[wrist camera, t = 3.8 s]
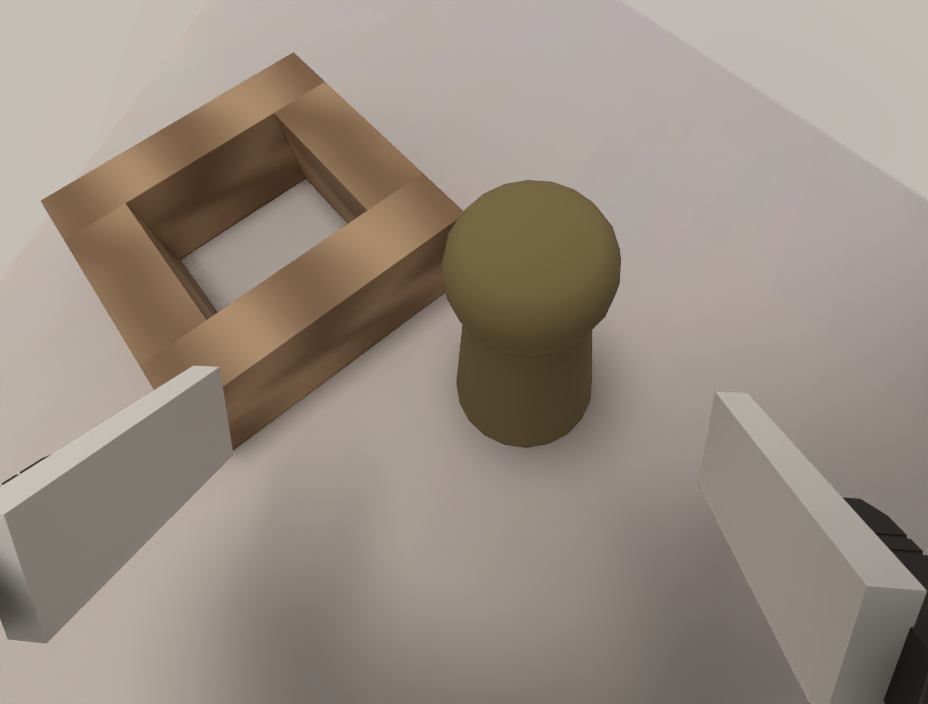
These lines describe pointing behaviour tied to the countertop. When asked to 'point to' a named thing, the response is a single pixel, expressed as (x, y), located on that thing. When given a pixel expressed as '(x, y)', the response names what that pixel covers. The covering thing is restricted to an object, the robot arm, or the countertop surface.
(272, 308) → the socket block
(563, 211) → the cork
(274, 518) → the countertop surface
